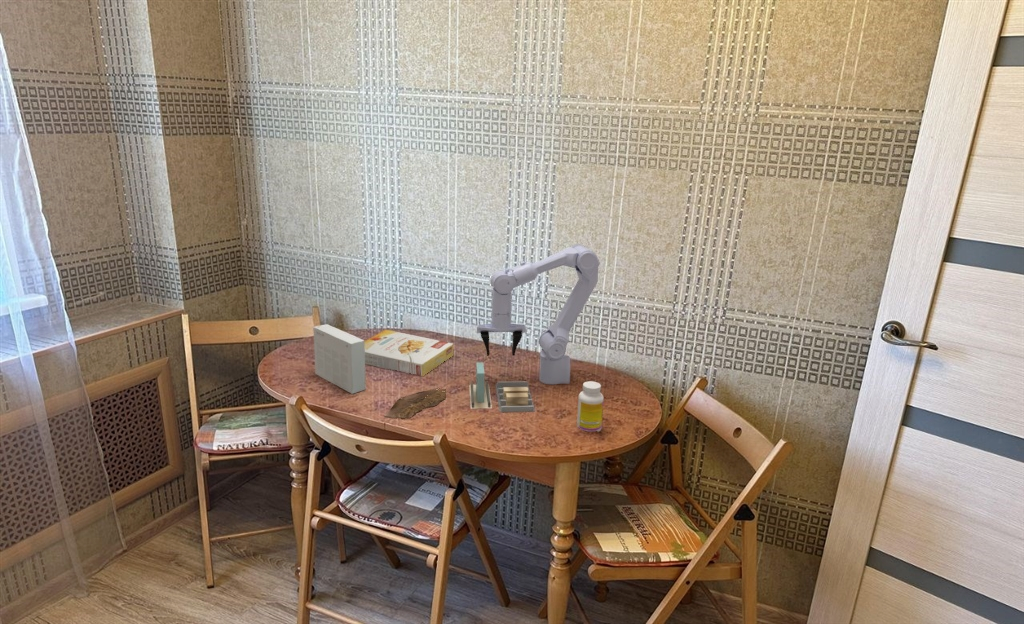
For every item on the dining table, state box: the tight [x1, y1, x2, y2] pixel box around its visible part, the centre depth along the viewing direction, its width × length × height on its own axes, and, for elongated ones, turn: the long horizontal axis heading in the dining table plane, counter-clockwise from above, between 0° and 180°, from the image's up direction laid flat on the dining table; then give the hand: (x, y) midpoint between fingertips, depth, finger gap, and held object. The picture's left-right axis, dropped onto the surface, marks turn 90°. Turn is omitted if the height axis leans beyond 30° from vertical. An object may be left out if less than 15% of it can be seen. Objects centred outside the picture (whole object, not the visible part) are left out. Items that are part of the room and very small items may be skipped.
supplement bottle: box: [576, 380, 605, 433], centre depth 165 cm, size 7×7×13 cm
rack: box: [495, 380, 536, 413], centre depth 182 cm, size 10×19×2 cm, turn 5°
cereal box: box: [364, 329, 454, 377], centre depth 210 cm, size 20×6×28 cm
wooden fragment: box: [383, 387, 447, 420], centre depth 180 cm, size 26×11×1 cm, turn 142°
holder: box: [468, 380, 493, 410], centre depth 182 cm, size 6×16×2 cm, turn 5°
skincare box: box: [312, 323, 367, 395], centre depth 189 cm, size 21×5×16 cm, turn 47°
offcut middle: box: [503, 387, 528, 400], centre depth 178 cm, size 7×2×4 cm, turn 95°
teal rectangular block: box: [475, 362, 485, 402], centre depth 181 cm, size 8×2×9 cm, turn 5°
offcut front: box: [506, 393, 528, 406], centre depth 175 cm, size 6×2×4 cm, turn 95°
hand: (500, 354), depth 188 cm, fingers open, 7 cm apart
